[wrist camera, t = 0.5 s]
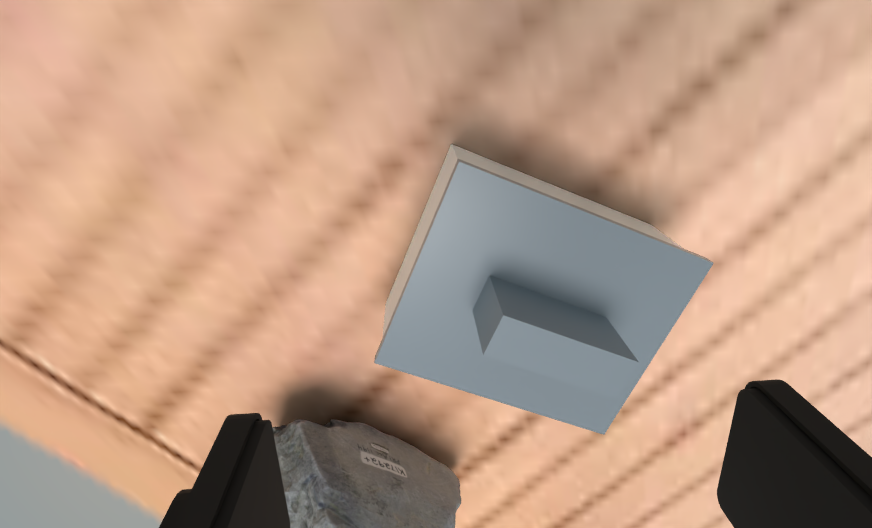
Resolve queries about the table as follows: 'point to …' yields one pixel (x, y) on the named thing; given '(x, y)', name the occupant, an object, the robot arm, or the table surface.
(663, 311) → the lid
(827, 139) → the table surface
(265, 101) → the table surface
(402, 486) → the decorative rock
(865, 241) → the table surface
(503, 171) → the tub
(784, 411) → the robot arm
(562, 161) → the table surface
